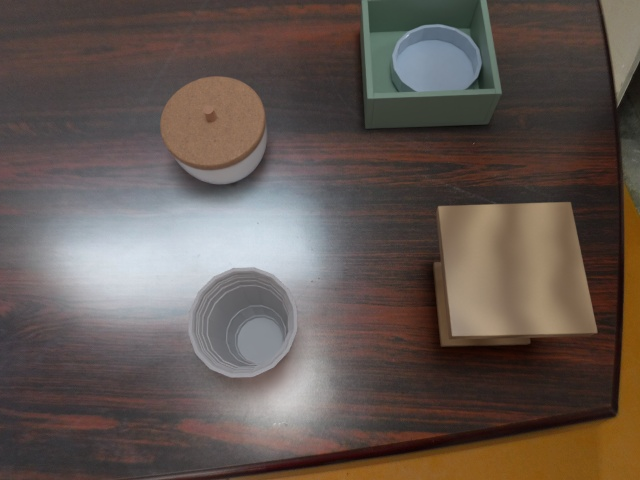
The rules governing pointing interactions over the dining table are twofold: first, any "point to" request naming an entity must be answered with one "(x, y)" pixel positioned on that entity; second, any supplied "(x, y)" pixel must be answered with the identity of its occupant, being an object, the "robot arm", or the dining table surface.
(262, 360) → the plastic cup
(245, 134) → the lidded bowl
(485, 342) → the stand
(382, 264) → the dining table surface
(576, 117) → the dining table surface
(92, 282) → the dining table surface
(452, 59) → the light blue shallow dish
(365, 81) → the tub
